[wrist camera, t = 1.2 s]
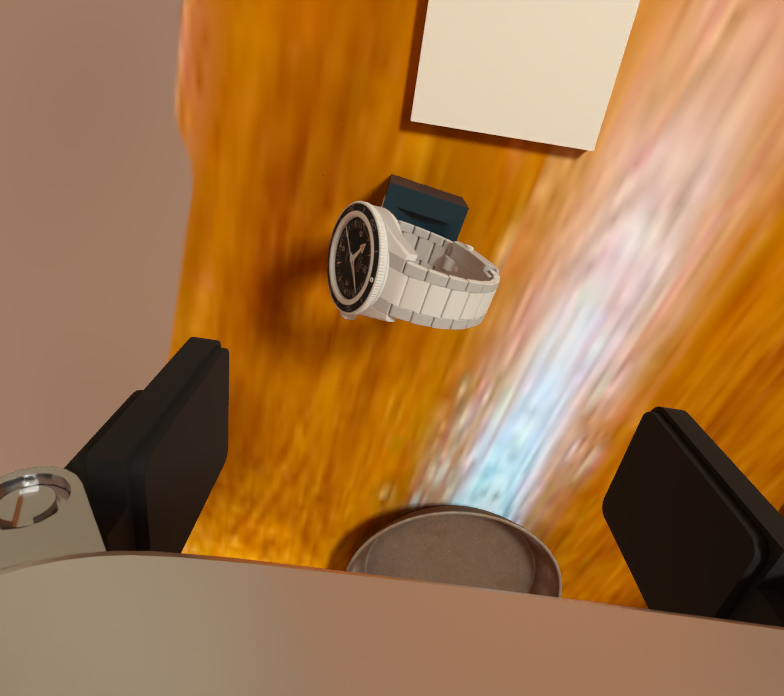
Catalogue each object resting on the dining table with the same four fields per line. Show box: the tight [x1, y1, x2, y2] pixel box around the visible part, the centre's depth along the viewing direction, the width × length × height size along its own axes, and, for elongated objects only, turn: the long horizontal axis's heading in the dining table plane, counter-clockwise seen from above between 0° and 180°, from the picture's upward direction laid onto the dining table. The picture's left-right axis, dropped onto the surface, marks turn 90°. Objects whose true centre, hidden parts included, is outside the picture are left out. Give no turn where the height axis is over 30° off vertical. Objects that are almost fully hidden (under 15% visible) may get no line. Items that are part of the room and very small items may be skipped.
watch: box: [327, 174, 500, 329], centre depth 25 cm, size 6×8×11 cm
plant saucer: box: [346, 506, 562, 598], centre depth 41 cm, size 18×18×3 cm
